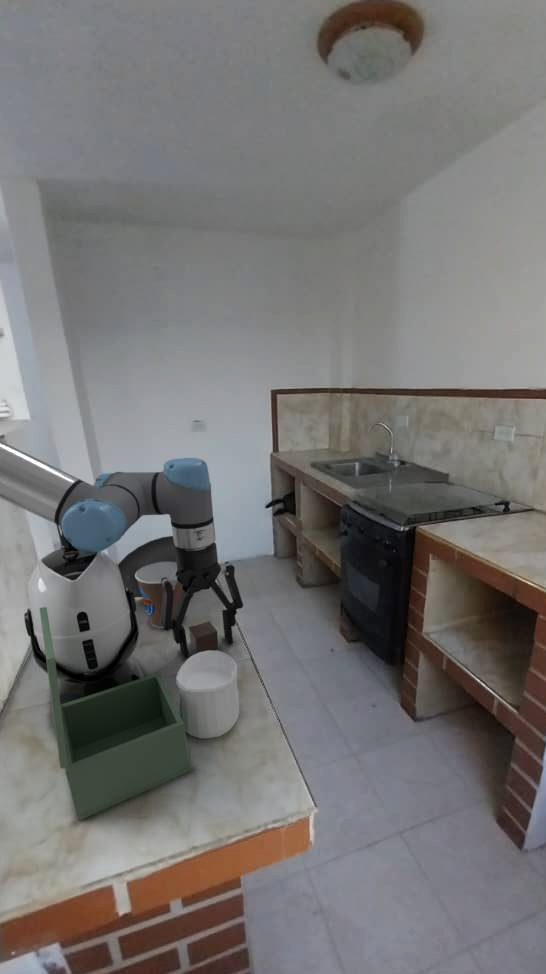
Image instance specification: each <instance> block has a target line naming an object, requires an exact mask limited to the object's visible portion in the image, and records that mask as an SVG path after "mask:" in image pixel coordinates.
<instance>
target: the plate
mask: <svg viewBox="0 0 546 974" xmlns="http://www.w3.org/2000/svg"><path fill="white" fill-rule="evenodd" d="M175 547H176V546H175V545H174V541H173V535H169V536H161V537H158V538H154V539H152V540H149V541H147V542H145V543H143V544H141V545H139V546H137V547H136V548H134V549H133V550H132V551H130V552H128V553H127V555H125V556H124V558H122V559H121V560H120V562H118V563H117V564H118V567H119V570H120V573H121V577H122V581H123V585H124V589H125V590H126V588H127V587H128V588H129V590H132V591H133V594H134V597H135V598H142V595H141V592H140V588H139V584H138V581H137V579H136V578H135V573H136V572H137V570H139V569H140V568H141V567H143V566H146V565H150V564H154V563H157V562H176V556H175Z"/></svg>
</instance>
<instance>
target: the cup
mask: <svg viewBox="0 0 546 974" xmlns="http://www.w3.org/2000/svg"><path fill="white" fill-rule="evenodd" d="M237 678H238V665H237V663H236V662H235V660H234V658H232V657H231V656H230V655H228V654H227V653H226V652H223V651H220V650H216V651H214V650H208V651H203V652H199V653H197V654H196V653H195V654H193V655H191V656H189V658H187V659H185V661H184V662H183V664H182V665H181V667H180V669H179V670H178V672H177V674H176V676H175V682H176V686H177V690H178V694H179V695H178V696H179V714H180V716H181V718H182V721H183V723H184V727H185V733H187V734H189V735H190V736H191V737H194V738H196V739H197V738H198V739H214V738H219V737H221V736H223V735H225V734H226V733H228V732H229V731H230V730H232V728H233V727H234V725H235V723H237V721H238V717H239V714H240V699H239V691H238V683H237Z"/></svg>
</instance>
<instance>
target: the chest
mask: <svg viewBox="0 0 546 974" xmlns="http://www.w3.org/2000/svg"><path fill="white" fill-rule="evenodd" d="M61 712H62V721H63V729H64V737H65V745H66V753H67V761H68V767H65V768H64V771H65V775H66V779H67V782H68V787H69V790H70V794H71V798H72V801H73V806H74V809H75V812H76V816H77V817H76V818H77V821H82V820H84V819H87V818H89V817H91V816H93V815H95V814H97V813H100V812H102V811H105V810H107V809H108V808H109V809H110V808H111V807H113V806H116V805H117V804H120V803H122V802H125V801H127V800H129V799H131V798H133V797H135V796H137V795H140V794H142V793H144V792H146V791H149V790H152V789H153V788H156V787H158V786H160V785H162V784H165V783H167V782H170V781H171V780H174V779H175V778H177V777H180V776H182V775H184V774H187V773H189V772H191V767H190V760H189V752H188V744H187V743H188V742H187V736H186V731H185V727H184V723H183V721H182V718H181V716H180V711H179V709H178V708H177V706H176V704H175V702H174V699H173V698H172V695H171V693H170V691H169V689H168V687H167V685H166V683H165V681H164V679H163V677H162V675H161V673H160V672H157V673H153V674H150V675H146V676H144V678H141V679H138V680H135V681H131V682H128V683H125V684H122V685H119V686H116V687H113V688H110V689H107V690H104V691H101V692H98V693H95V694H92V695H89V696H86V697H83V698H80V699H77V700H74V701H71V702H68V703H65V704H62V705H61Z"/></svg>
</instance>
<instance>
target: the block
mask: <svg viewBox="0 0 546 974" xmlns="http://www.w3.org/2000/svg"><path fill="white" fill-rule="evenodd" d="M217 630H218V629H216V627H214V625H213V624H212V622H211V621H210V620H209V621H205V622H201V623H198V624H194V625H191V626H188V633H189V634H188V635H189V643H190V647H191V648H192V650H193V652H194V653H195V654H197V653H199V652H203V651H208V650H214V651H220V650H219V648H220V647H219V636H218V631H217Z"/></svg>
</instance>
